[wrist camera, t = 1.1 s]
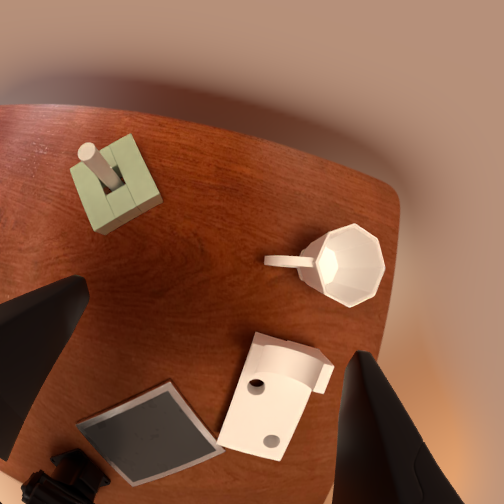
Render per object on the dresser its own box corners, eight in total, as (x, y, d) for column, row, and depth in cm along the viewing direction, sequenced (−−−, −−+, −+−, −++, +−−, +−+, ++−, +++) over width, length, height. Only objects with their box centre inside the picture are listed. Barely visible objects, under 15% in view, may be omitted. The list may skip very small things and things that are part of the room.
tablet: (133, 482, 25) (132, 487, 24) (77, 421, 24) (74, 425, 23) (224, 447, 27) (225, 451, 26) (170, 378, 27) (169, 381, 26)
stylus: (116, 198, 27) (80, 164, 16) (111, 187, 27) (75, 148, 16) (128, 191, 27) (97, 153, 17) (123, 180, 27) (91, 138, 16)
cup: (339, 299, 31) (382, 307, 23) (252, 295, 29) (275, 306, 21) (344, 236, 31) (387, 228, 24) (258, 226, 29) (282, 212, 22)
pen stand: (104, 235, 26) (93, 231, 23) (81, 178, 26) (69, 168, 22) (163, 201, 28) (159, 193, 24) (136, 146, 27) (130, 133, 24)
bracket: (255, 330, 30) (252, 343, 22) (318, 348, 29) (334, 366, 22) (220, 429, 28) (209, 463, 21) (278, 445, 28) (281, 481, 20)
